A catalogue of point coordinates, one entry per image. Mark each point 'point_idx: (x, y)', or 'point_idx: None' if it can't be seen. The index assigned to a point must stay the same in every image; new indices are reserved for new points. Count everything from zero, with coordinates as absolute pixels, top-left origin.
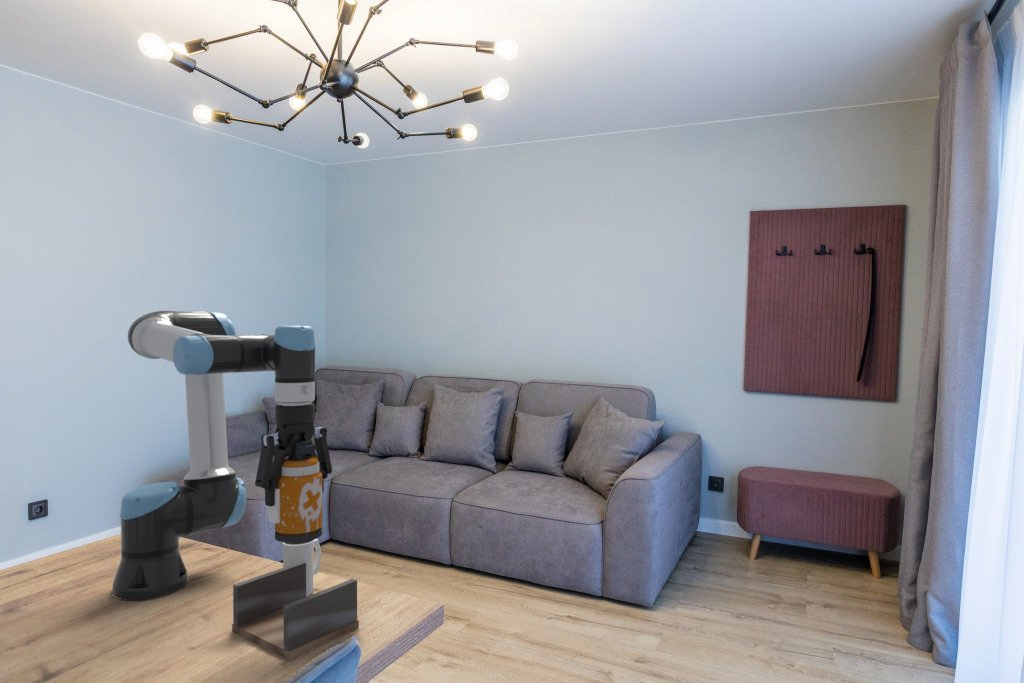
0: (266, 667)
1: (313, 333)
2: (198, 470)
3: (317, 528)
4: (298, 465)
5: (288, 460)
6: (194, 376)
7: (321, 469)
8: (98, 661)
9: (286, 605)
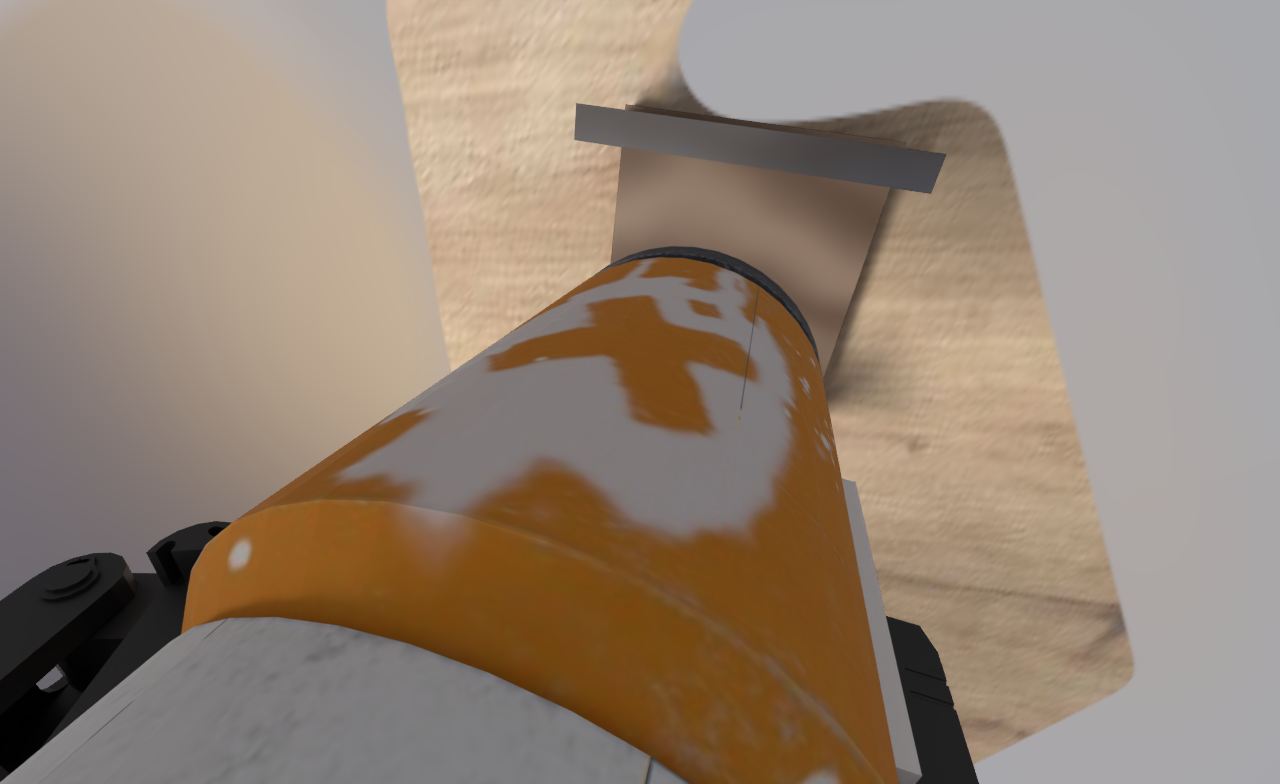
0: (961, 180)
1: None
2: None
3: (651, 258)
4: None
5: None
6: None
7: (127, 668)
8: (1040, 577)
9: (923, 184)
